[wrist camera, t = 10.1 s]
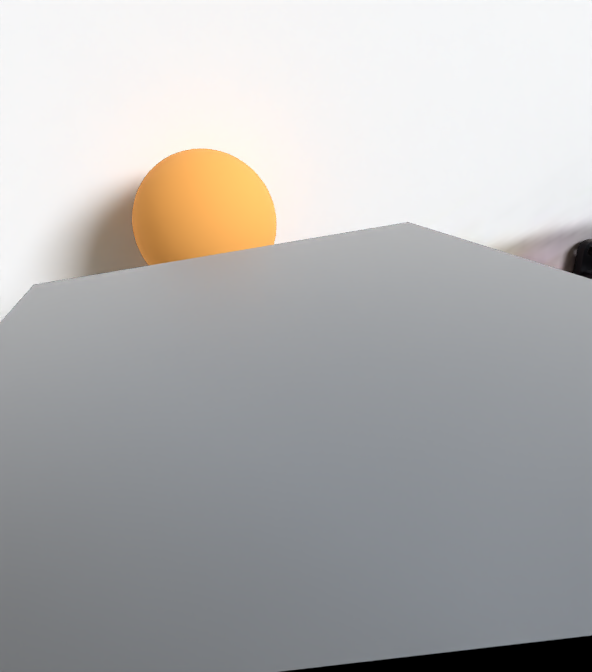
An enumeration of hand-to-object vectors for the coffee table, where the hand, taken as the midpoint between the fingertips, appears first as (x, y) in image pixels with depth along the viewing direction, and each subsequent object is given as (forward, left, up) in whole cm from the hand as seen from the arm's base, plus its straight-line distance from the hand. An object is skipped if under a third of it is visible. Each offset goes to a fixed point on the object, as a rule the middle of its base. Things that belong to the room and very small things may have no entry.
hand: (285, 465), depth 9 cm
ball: (0, -3, -10) cm, 10 cm away
